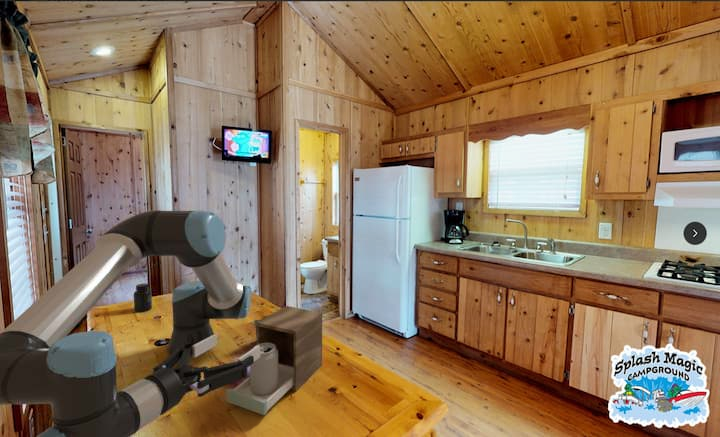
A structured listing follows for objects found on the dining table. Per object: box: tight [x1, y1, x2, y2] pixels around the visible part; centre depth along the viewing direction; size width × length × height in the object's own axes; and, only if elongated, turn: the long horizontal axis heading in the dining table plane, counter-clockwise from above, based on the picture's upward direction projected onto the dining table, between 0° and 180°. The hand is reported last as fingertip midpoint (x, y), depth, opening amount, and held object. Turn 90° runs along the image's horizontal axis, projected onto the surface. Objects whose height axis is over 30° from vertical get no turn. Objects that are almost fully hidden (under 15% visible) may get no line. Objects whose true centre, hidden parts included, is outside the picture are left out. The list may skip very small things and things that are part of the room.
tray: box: [226, 363, 294, 416], centre depth 89 cm, size 12×18×3 cm
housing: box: [256, 305, 323, 392], centre depth 99 cm, size 14×15×18 cm
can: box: [249, 343, 278, 395], centre depth 88 cm, size 8×8×12 cm
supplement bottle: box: [133, 283, 153, 313], centre depth 147 cm, size 7×7×12 cm
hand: (237, 345), depth 77 cm, fingers open, 13 cm apart
